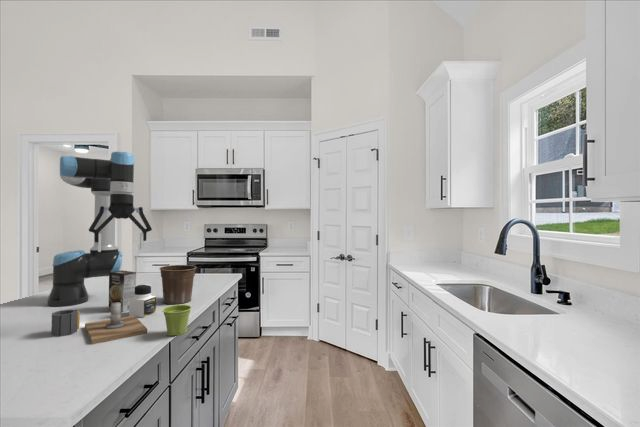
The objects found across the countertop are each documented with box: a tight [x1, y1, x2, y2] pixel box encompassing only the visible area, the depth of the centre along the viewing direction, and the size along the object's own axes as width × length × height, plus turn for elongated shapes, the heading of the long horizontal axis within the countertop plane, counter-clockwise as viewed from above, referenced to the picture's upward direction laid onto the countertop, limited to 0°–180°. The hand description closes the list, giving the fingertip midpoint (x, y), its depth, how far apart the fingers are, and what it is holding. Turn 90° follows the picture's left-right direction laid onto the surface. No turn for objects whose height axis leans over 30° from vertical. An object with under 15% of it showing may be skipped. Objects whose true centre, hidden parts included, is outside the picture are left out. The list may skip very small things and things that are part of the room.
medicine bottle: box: [128, 284, 157, 318], centre depth 139 cm, size 7×7×12 cm
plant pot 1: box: [159, 264, 198, 305], centre depth 161 cm, size 16×16×16 cm
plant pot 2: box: [161, 304, 193, 337], centre depth 118 cm, size 9×9×9 cm
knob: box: [51, 308, 80, 337], centre depth 117 cm, size 7×8×7 cm
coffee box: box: [108, 269, 137, 313], centre depth 147 cm, size 9×6×16 cm
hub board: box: [84, 302, 148, 345], centre depth 120 cm, size 20×16×10 cm
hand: (121, 250), depth 127 cm, fingers open, 13 cm apart
